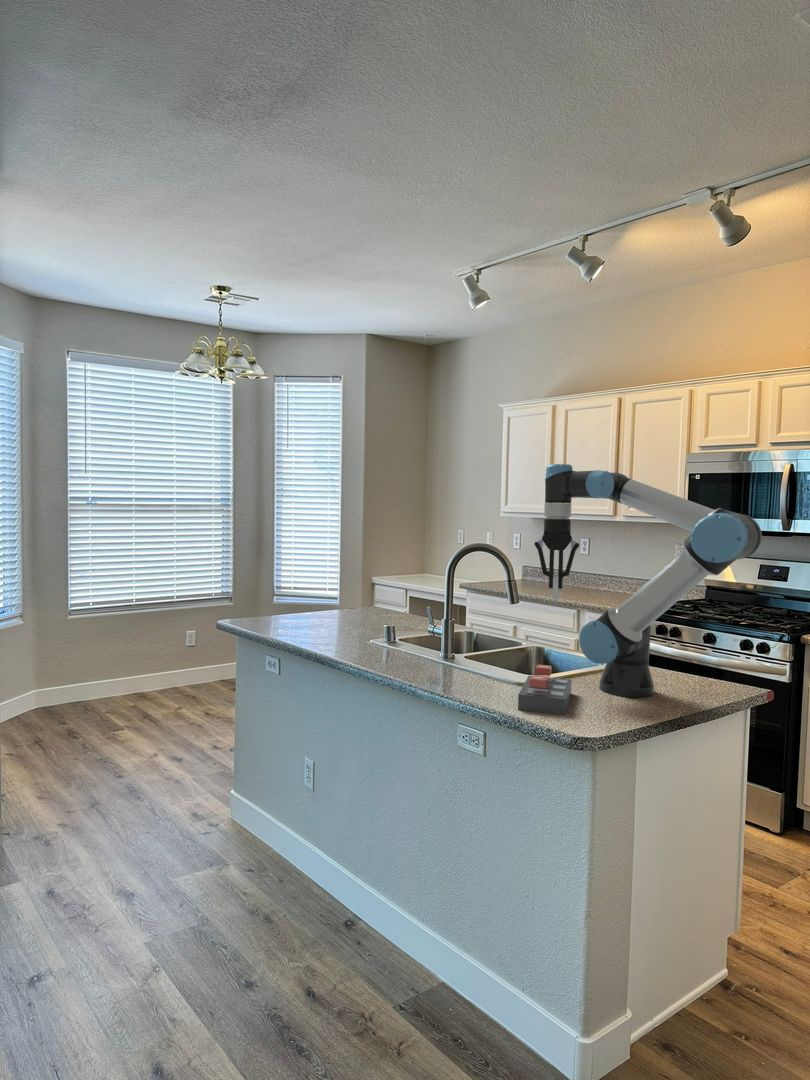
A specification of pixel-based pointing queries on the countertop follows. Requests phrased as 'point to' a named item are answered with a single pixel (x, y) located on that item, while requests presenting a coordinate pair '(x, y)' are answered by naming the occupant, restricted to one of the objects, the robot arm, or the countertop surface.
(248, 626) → the countertop surface
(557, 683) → the dark grey flat block
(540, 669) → the button
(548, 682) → the button
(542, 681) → the button
